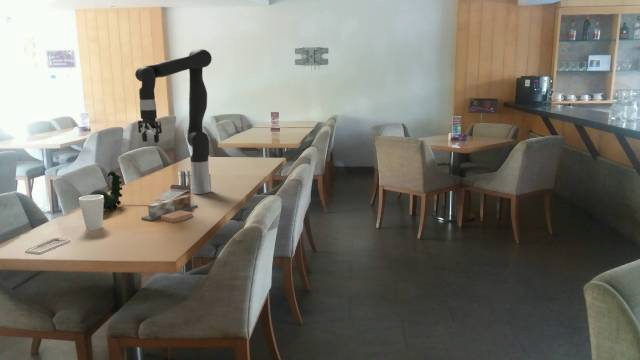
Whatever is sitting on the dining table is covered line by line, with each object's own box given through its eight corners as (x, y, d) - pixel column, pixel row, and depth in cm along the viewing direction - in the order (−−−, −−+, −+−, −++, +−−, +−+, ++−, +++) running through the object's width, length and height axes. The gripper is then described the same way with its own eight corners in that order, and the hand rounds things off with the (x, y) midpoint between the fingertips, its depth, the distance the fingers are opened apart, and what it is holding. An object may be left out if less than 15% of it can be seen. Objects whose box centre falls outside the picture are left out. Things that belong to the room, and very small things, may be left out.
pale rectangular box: (185, 205, 245) (185, 195, 244) (190, 206, 244) (190, 195, 243) (148, 216, 227) (148, 205, 226) (153, 217, 225) (152, 206, 224)
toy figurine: (110, 207, 254) (80, 216, 229) (108, 169, 252) (77, 174, 227) (128, 208, 252) (99, 217, 228) (126, 169, 250) (97, 175, 226)
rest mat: (188, 205, 249) (188, 203, 249) (197, 207, 246) (197, 205, 245) (141, 219, 226) (141, 217, 225) (150, 221, 222) (150, 219, 222)
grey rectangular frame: (40, 255, 183) (71, 242, 197) (40, 251, 183) (71, 238, 197) (24, 253, 185) (55, 240, 199) (23, 250, 185) (55, 237, 199)
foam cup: (111, 225, 217) (108, 195, 215) (95, 231, 209) (92, 200, 206) (93, 223, 220) (90, 194, 218) (77, 229, 212) (73, 199, 209)
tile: (180, 210, 233) (160, 215, 224) (192, 212, 229) (173, 218, 219) (180, 215, 233) (161, 221, 224) (192, 217, 229) (173, 223, 220)
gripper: (164, 108, 248) (166, 142, 252) (144, 108, 256) (147, 140, 259) (151, 109, 242) (154, 143, 246) (132, 109, 250) (135, 142, 253)
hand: (150, 142), depth 252 cm, fingers open, 8 cm apart
